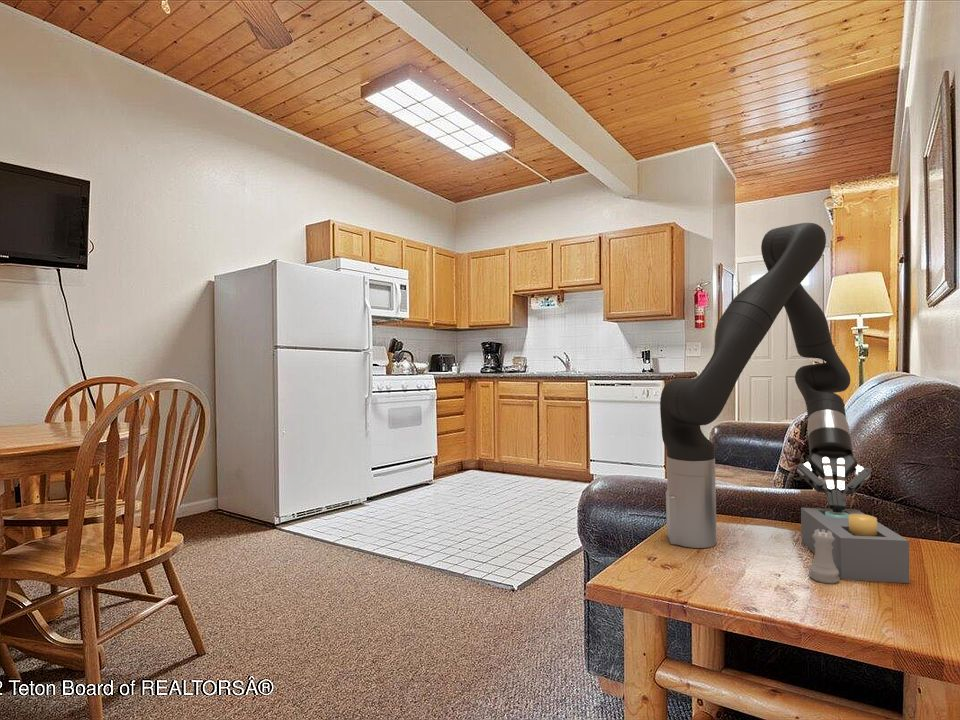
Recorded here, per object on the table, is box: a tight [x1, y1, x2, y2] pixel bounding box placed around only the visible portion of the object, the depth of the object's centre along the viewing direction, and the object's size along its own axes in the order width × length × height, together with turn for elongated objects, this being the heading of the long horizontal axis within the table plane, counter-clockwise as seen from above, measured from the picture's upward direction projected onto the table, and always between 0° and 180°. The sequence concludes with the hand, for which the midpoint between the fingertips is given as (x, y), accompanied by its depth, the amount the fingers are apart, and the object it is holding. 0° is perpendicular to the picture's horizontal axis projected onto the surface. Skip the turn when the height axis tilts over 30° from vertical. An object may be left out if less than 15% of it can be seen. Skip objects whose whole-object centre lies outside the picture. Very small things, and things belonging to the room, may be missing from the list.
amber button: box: [849, 513, 878, 537], centre depth 94 cm, size 4×4×4 cm
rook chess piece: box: [808, 529, 841, 585], centre depth 91 cm, size 4×4×8 cm
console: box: [800, 507, 911, 584], centre depth 99 cm, size 10×18×7 cm, turn 168°
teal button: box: [825, 511, 849, 519], centre depth 103 cm, size 4×4×4 cm
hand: (837, 510), depth 103 cm, fingers closed
